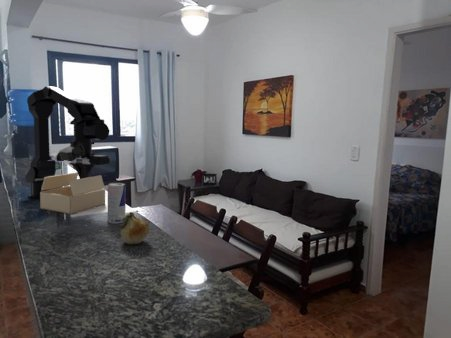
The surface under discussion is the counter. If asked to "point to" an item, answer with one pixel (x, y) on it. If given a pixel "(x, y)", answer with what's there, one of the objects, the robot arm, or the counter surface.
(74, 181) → the flap
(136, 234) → the onion
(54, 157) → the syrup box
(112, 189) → the energy drink
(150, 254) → the counter surface
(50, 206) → the carton
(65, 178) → the flap
